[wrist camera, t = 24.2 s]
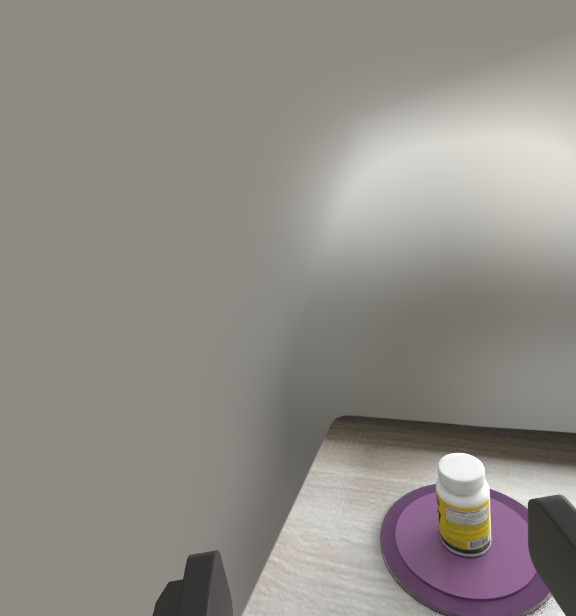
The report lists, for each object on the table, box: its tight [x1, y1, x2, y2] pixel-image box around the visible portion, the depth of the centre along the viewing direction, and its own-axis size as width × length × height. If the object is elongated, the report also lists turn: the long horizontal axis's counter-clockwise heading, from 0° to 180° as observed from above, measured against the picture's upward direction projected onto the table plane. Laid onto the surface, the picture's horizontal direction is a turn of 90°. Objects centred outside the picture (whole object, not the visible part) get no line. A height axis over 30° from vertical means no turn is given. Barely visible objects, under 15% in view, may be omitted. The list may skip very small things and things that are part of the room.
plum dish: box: [380, 484, 551, 616], centre depth 44 cm, size 16×16×1 cm
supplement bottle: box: [436, 453, 491, 557], centre depth 43 cm, size 5×5×8 cm
